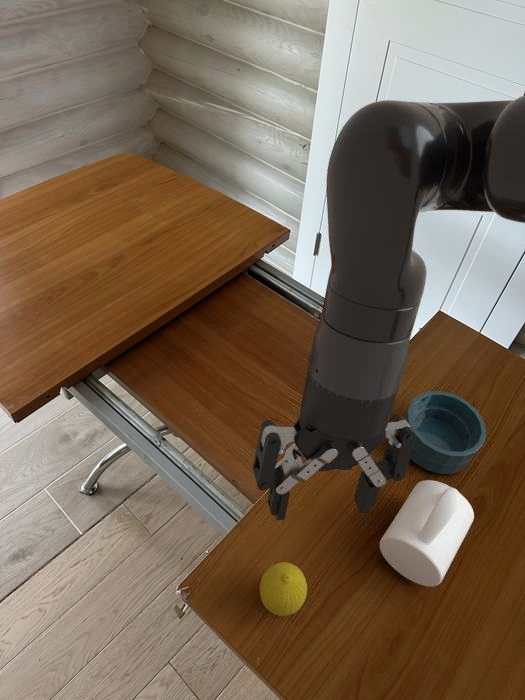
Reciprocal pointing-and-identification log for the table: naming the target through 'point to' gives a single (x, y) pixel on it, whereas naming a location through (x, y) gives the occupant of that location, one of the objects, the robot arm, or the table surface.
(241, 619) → the table surface
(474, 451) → the bowl
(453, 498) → the mug
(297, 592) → the lemon
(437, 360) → the table surface
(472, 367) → the table surface
